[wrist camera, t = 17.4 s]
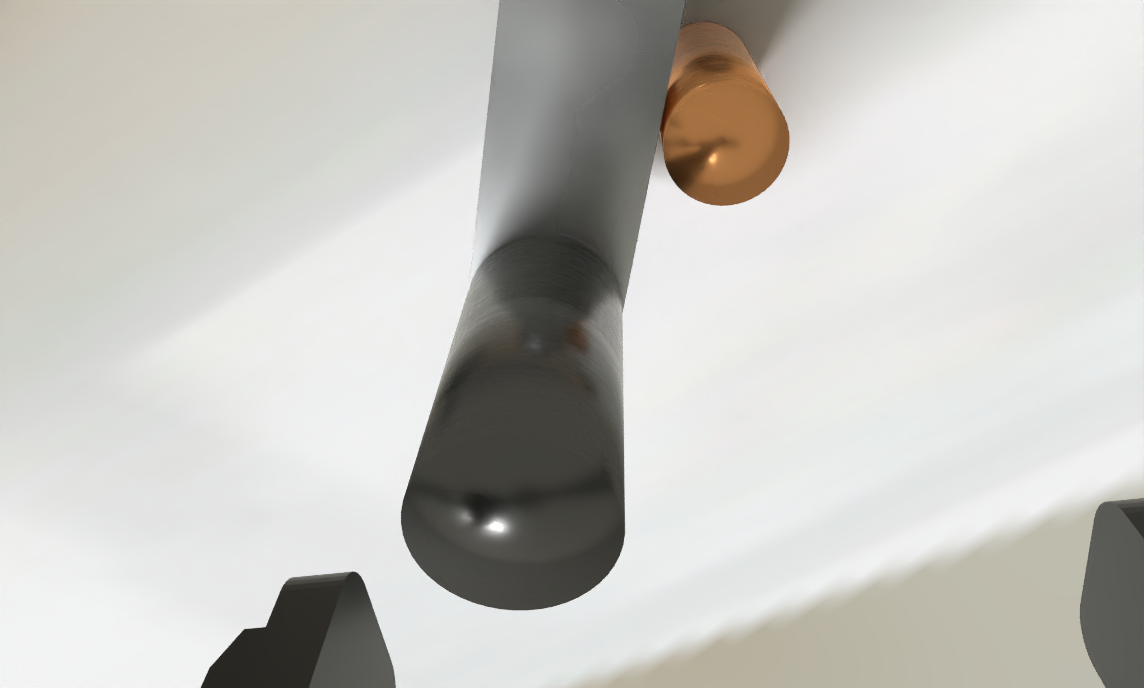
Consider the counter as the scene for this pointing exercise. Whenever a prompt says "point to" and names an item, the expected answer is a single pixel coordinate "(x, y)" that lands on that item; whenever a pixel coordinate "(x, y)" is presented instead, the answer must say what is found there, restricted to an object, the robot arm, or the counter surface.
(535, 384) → the crank
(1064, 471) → the counter surface
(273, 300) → the counter surface
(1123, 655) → the robot arm
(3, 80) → the counter surface
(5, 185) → the counter surface
